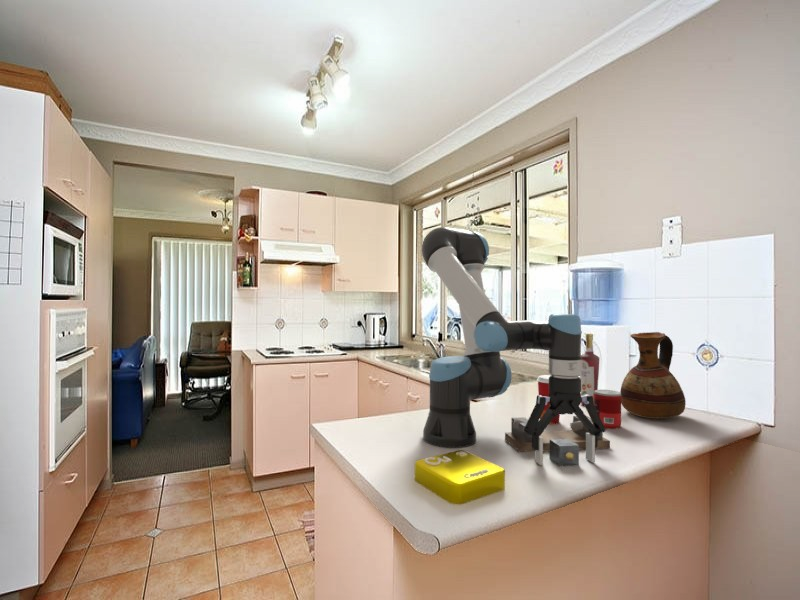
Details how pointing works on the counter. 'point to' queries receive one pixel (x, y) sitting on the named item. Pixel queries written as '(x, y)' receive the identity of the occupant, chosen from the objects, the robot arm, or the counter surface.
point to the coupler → (564, 452)
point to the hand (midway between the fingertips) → (564, 461)
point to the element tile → (459, 476)
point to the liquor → (589, 369)
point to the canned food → (608, 407)
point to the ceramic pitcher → (652, 380)
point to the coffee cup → (546, 394)
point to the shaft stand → (550, 435)
